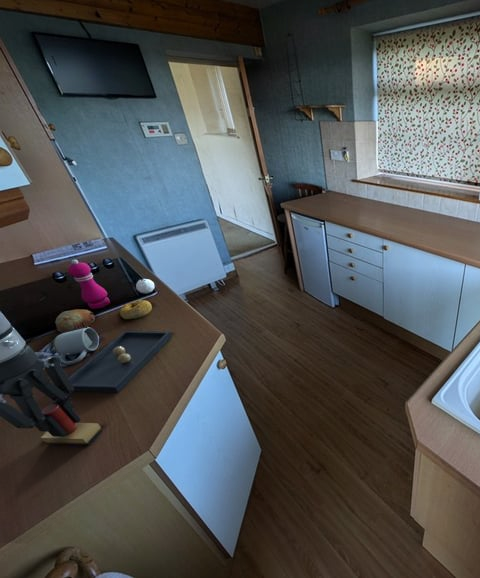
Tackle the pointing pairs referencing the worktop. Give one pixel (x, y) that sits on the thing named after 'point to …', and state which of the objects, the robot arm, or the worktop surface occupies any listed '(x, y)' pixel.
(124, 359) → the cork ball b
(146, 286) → the white ovoid
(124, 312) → the bagel
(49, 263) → the worktop surface
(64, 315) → the bread roll
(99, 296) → the pepper mill
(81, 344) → the ceramic mug
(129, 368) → the tray
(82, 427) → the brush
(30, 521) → the worktop surface
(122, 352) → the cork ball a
